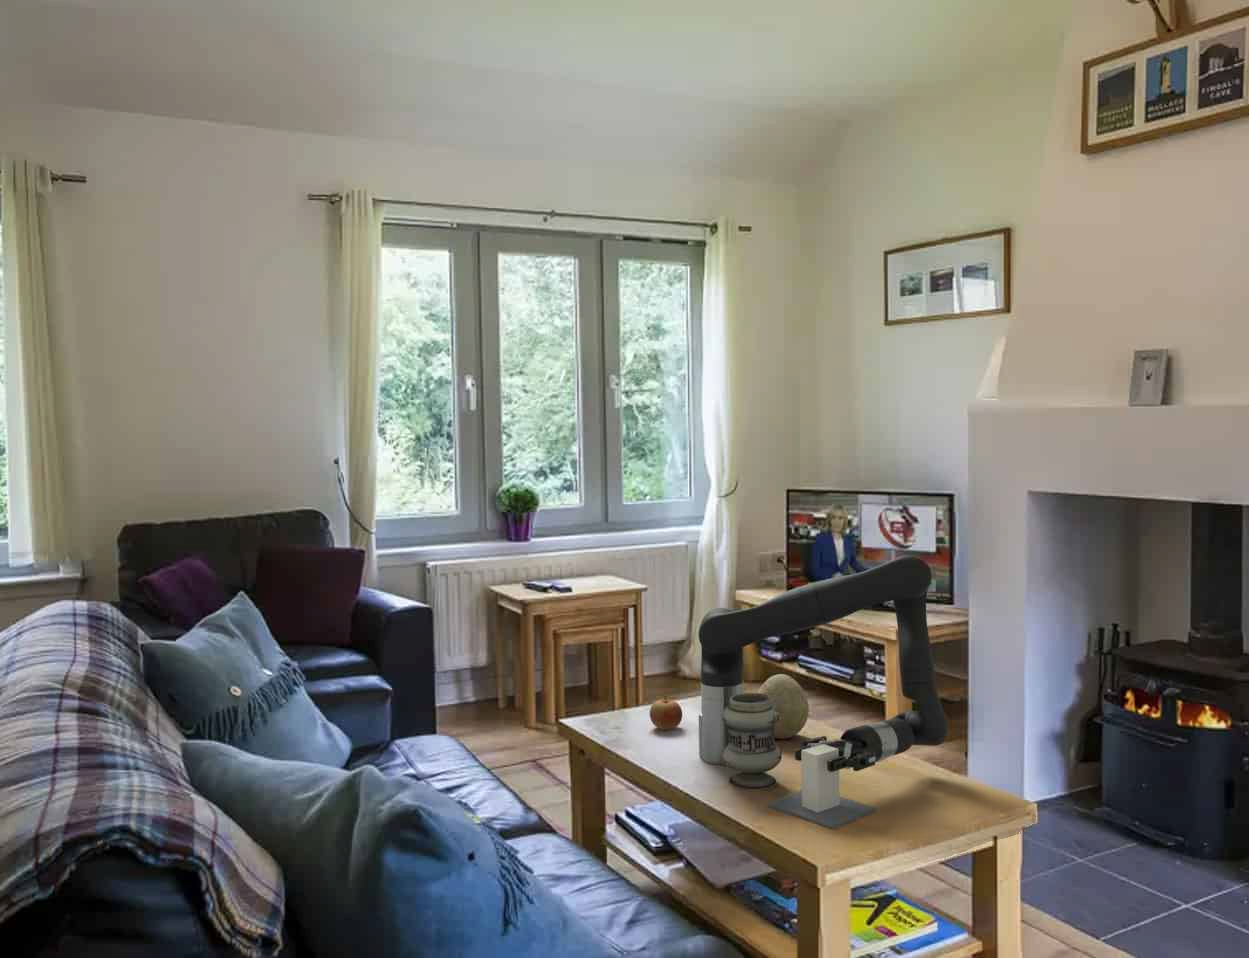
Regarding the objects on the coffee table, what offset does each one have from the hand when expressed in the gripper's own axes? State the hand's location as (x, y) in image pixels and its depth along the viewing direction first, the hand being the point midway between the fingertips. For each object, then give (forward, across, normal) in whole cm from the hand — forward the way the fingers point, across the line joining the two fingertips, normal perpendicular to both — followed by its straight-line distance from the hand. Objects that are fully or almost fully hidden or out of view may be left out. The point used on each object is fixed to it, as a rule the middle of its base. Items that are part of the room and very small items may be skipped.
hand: (812, 760), depth 201 cm
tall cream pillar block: (-2, 0, +9) cm, 10 cm away
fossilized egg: (-28, -38, +10) cm, 48 cm away
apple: (-12, -61, +10) cm, 63 cm away
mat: (-2, 0, +10) cm, 10 cm away
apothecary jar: (-2, -19, +10) cm, 22 cm away
